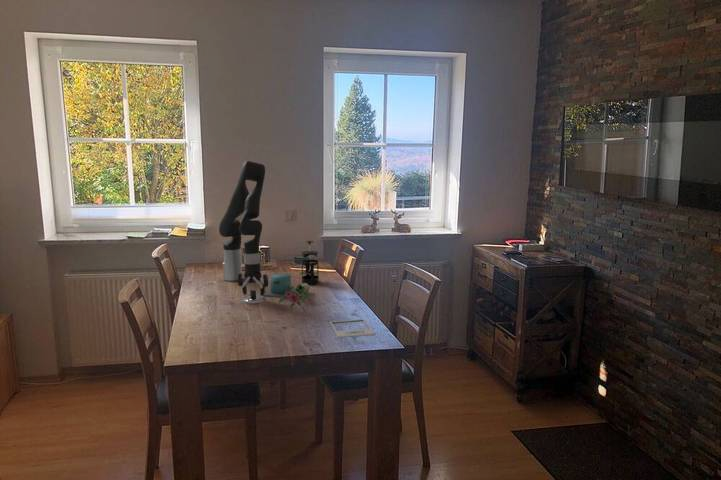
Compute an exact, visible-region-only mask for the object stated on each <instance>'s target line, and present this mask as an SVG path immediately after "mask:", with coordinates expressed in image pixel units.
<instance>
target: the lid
mask: <svg viewBox="0 0 721 480" xmlns="http://www.w3.org/2000/svg"><path fill="white" fill-rule="evenodd" d="M249 291H250V295H249V296H245V297H242V298H241V302H242V303H244V304H248V305H249V304H253V305H254V304H260V303H263V302H265V301H266V296H261V295H257V290H255V289H251V290H249Z"/></svg>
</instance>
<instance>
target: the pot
mask: <svg viewBox="0 0 721 480" xmlns="http://www.w3.org/2000/svg"><path fill="white" fill-rule="evenodd" d="M269 281H270V284H269V285H270V288H269V289H268V290H266V291H265V293H264V295H263V297H269V298H270V297H271V298H283V297H282V295H285V294H286V293H285V292H286V291H291V292H292V294H297V293H296V292H295V291H294V289H295V288H296V287H294V288H293V289H292V290H291V289H287V286H288V285H289V286H290V287H292V286H291V285H292V284H291V282H292V281H291V274H288V273H275V274H271V275H270V277H269ZM284 298H288V297H287V295H286V296H285V297H284ZM288 299H289V298H288Z"/></svg>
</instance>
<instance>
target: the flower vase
mask: <svg viewBox="0 0 721 480" xmlns="http://www.w3.org/2000/svg"><path fill="white" fill-rule="evenodd" d="M293 288H295V289H294V291H295V292H296V293H294V294H292V292H291V291H286V292H285V293H286V294H285V295H282V297H281V298H280V299H279V300H278V302H279V303H282V302H284V300H285V299H284V298H287V297H288V299H289V302H291V304H290V308H292V307H294V306H295V305H296V304H297V305H298V306H300V307H301V306H302V305H301V302H300V300H301V301H302V303H305V298H310V295H309V294H308V292H309V291H310V289H311V285H308V284H307V283H303V284H302V283H300V282H299V283H298V284H297V285H296V286H293V285H292V286H291V287H290V286H289V285H288V286H287V289H291V290H292V289H293ZM286 295H287V297H285V296H286ZM303 295H304V297H303ZM301 296H302V297H301Z"/></svg>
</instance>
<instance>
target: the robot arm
mask: <svg viewBox="0 0 721 480" xmlns="http://www.w3.org/2000/svg"><path fill="white" fill-rule="evenodd" d="M265 175H266V166H265V165H264V164H262V163H258V162H254V161H250V160H246V161H244V163H243V164H242V166H241V170H240V174H239V176H238V180H237V183H236V186H235V188H234V191H233V192H232V196H231V198H230V200H229V204H228V207H227V209H226V211H225V214H224V215H223V217H222V219H221V221H220V223H219V226H218V232H219V235H220V236H221V237H222V238H230V239H229V240H227V241H226V242H224V243H223V244H222V245H223V247H222V248H223V262H222V275H223V281H228V282H236V281H237V282H238V285H237V286H238V287H241V288H242V294H243V295H244V296H246V295H247V294H248V290H247V285H248V284H257V285H258V286H259V287H260V296H263V295H264V293H265V292H266V290H265V288H267V287H268V286H269V279H268V277H269V276H268V274H267V273H264V274H262V271H261V269H262V267H261V262H262V261H261V254H260V239H261V234H262V231H263V224H262V222H261V221H260V220H257V218H258V217H259V215H260V205H261V197H262V192H263V187H264V182H265ZM246 181H252V182H256V185H255V187H254V188H253V189H252V191H251V192H249V189H248V187H247V184H246V183H247V182H246ZM241 215H242V217H241V218H242V219H241V220H239V219H237V218H239V217H240V216H241ZM242 236H254V237H253V238H251V239H247V240H245V241H244V242H243V249H244V250H243V251H244V253H243V254H244V256H243V262H244V265H243V266H244V273H243V272H242V271H243V270H242V267H243V266H242V253H241V252H242V250H241V249H242V246H241V244H242ZM244 278H245V280H243V279H244ZM262 279H263V280H262ZM263 297H264V296H263Z"/></svg>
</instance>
